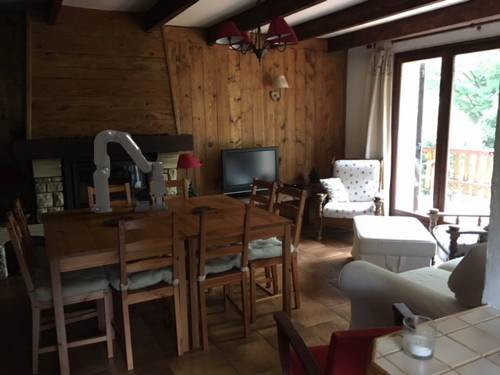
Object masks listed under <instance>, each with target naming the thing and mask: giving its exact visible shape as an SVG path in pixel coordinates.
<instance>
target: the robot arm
mask: <svg viewBox="0 0 500 375" xmlns="http://www.w3.org/2000/svg"><path fill="white" fill-rule="evenodd" d="M94 138H95V139H94V141H93V146H94V147H93V148H94V149H93V151H94V152H93V153H94V154H93V157H94V158H93V163H94V165H95V166H96V170H94V172H93V184H94V194H95V206H94V207H92V208H91V209H90V210H91V212H94V213H96V214H103V213H110V212H113V208H112V207H111V204H110V190H109V180H108V178H110V175H111V162H110V161H111V159H110V156H109V155H108V153H107V148H108V147H107V144H108V143H109V142H110V143H111V142H112V143H117V144H120V146H122V147H123V148H124V150H125V151H126V152H127V153H128V155H129V156H130V158H131V159H132V160H133V162H134V163H135V165H137V167H138V168H139V169H140V171H141V172H143V173H145V174H148V173H150V172H152V176H151V177H150V179H151V190H150V193H149V194H150V195H151V197H153V198H154V203H157V199H156V194H162V203H164V202H165V196H166V195H168V194H169V192H168V190H167V188H166V186H167V185H166V181H165V179H164V166H163V165H164V164H163V161H148V160H147V159H146V158H145V156H144V155H143V154H142V151H141V149H140V147H139V146H138V145H137V143H136V142H135V141H134V139H133V138H132V135H131V134H130V133H129V132H126V131H125V132H123V131H119V130H113V129H112V130H111V129H106V130H102V131H101V132H98V134H97V135H96V136H95V137H94Z"/></svg>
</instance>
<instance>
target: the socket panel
mask: <svg viewBox="0 0 500 375" xmlns="http://www.w3.org/2000/svg"><path fill="white" fill-rule="evenodd" d="M135 206H136V207H135V208H134V213H142V212H157V211H158V212H159V211H161V212H162V211H168V210H169V206H167V204H166V202H163V203H162V205H157V203H156V202H154V203H152V206H150V205H149V201H143V202H138V201H136V205H135Z"/></svg>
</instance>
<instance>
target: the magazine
mask: <svg viewBox="0 0 500 375" xmlns="http://www.w3.org/2000/svg"><path fill="white" fill-rule="evenodd" d="M150 192H151V190H150V189H149V187H148V186H147V185H145V186H143V187H141V188H140V189H138V190H136V191H135V192H134V196H135V197H136V201H137V202H143V201H149V206H151V205H152V206H153V199H152V197H153V196H152V195H150V194H149V193H150Z"/></svg>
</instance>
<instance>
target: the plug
mask: <svg viewBox="0 0 500 375" xmlns="http://www.w3.org/2000/svg"><path fill="white" fill-rule="evenodd" d="M156 199H157V205H162V194H156Z"/></svg>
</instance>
